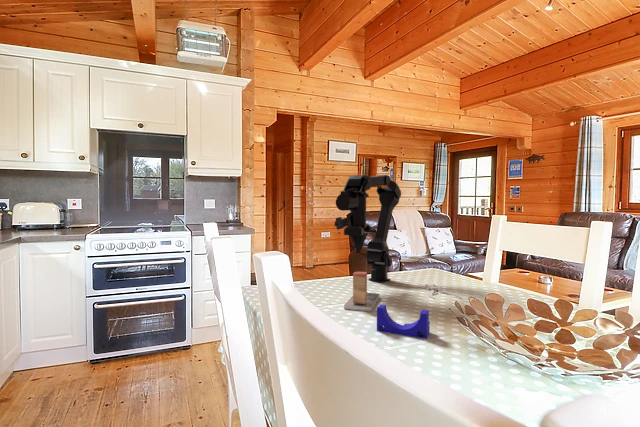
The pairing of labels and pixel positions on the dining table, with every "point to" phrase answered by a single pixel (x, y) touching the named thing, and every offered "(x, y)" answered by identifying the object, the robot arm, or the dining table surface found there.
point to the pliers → (435, 288)
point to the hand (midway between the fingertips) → (358, 252)
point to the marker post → (360, 287)
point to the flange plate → (368, 306)
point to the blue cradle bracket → (412, 329)
